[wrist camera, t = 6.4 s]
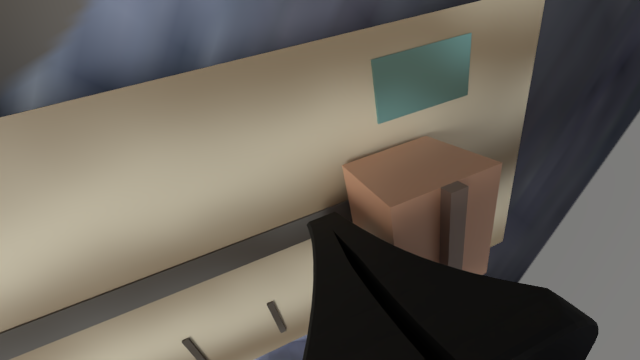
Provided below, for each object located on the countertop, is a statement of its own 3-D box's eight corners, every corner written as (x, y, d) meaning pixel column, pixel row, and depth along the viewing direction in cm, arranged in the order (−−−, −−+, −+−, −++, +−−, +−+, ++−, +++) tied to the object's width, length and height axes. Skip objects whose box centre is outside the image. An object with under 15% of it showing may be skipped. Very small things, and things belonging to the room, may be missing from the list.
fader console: (465, 217, 19) (503, 242, 17) (18, 413, 14) (-34, 498, 11) (482, 1, 13) (550, -17, 10) (-364, 207, 7) (-726, 294, 4)
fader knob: (427, 225, 13) (495, 279, 10) (359, 254, 12) (407, 324, 9) (425, 135, 11) (515, 167, 7) (341, 165, 10) (398, 215, 7)
